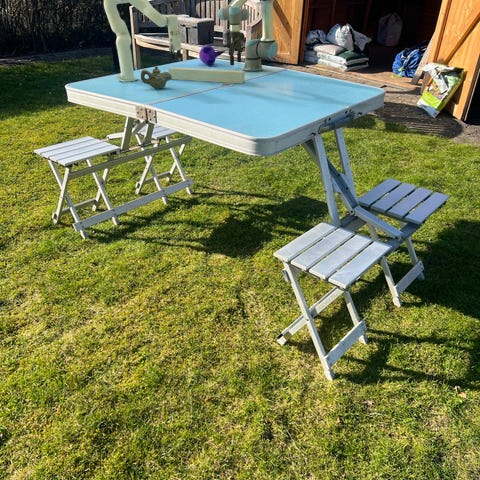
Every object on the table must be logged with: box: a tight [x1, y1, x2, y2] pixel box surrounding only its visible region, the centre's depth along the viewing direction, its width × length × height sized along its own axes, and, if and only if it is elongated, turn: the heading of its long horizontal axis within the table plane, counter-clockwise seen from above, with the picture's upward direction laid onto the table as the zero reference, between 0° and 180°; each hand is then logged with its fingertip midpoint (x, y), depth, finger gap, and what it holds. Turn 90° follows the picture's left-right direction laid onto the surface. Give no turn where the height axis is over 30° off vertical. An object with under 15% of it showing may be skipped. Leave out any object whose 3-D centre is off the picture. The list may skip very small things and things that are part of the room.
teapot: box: [140, 65, 172, 90], centre depth 311 cm, size 21×12×15 cm, turn 109°
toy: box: [198, 45, 226, 67], centre depth 391 cm, size 16×18×27 cm
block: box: [167, 66, 246, 84], centre depth 335 cm, size 60×6×8 cm, turn 69°
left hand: (176, 58), depth 338 cm, fingers open, 9 cm apart
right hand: (235, 63), depth 323 cm, fingers open, 13 cm apart
